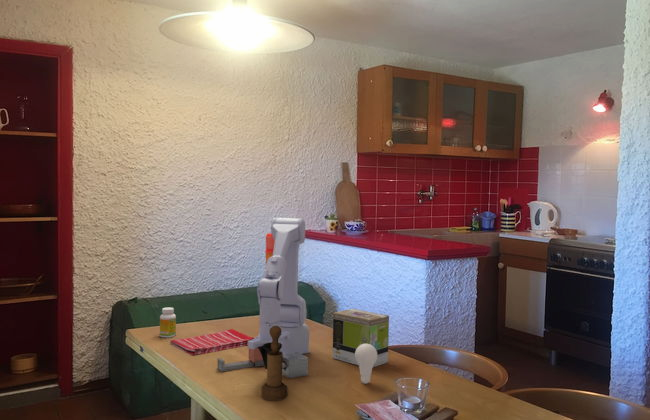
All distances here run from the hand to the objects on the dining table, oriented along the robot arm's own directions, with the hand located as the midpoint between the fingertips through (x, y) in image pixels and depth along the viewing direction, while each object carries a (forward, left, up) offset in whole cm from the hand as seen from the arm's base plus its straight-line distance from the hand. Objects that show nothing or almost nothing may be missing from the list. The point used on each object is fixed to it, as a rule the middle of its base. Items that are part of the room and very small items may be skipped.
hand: (269, 369), depth 157 cm
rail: (+1, -12, -2) cm, 12 cm away
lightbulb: (-22, +16, -3) cm, 27 cm away
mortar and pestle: (+4, +13, -3) cm, 14 cm away
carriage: (-3, -12, -2) cm, 13 cm away
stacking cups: (-31, -61, -3) cm, 68 cm away
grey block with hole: (-8, 0, -2) cm, 8 cm away
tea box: (-32, -2, -3) cm, 32 cm away
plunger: (-4, 0, -1) cm, 4 cm away
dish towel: (+3, -39, -3) cm, 39 cm away
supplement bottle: (+14, -55, -3) cm, 57 cm away
